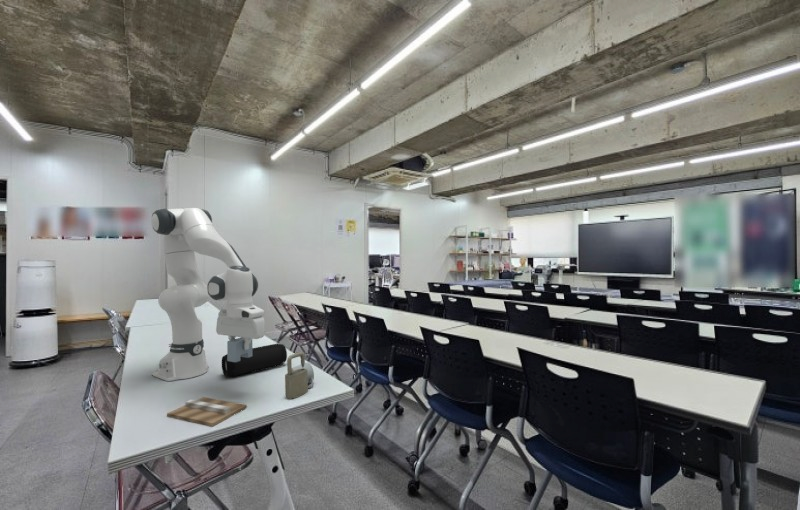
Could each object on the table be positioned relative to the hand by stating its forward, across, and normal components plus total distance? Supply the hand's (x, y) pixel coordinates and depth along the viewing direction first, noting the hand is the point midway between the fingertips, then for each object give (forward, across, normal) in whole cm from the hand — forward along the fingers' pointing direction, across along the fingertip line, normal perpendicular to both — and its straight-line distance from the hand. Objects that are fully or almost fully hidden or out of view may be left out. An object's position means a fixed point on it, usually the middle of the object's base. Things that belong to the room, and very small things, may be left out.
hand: (240, 348), depth 126 cm
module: (+4, 0, 0) cm, 4 cm away
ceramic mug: (+17, +16, +15) cm, 28 cm away
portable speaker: (+18, -15, +23) cm, 33 cm away
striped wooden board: (+17, +1, -14) cm, 22 cm away
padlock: (+17, +20, +7) cm, 27 cm away
